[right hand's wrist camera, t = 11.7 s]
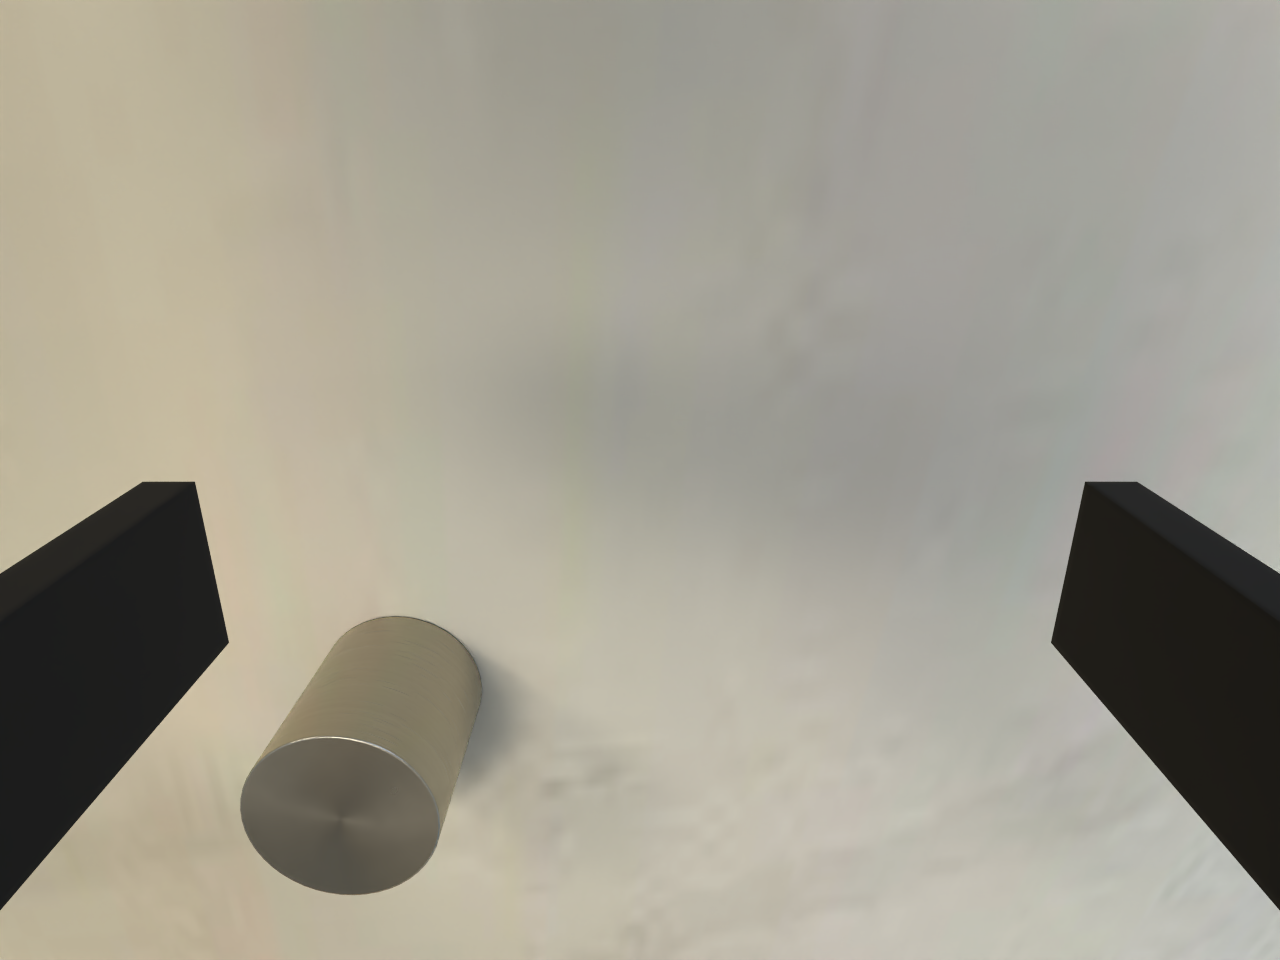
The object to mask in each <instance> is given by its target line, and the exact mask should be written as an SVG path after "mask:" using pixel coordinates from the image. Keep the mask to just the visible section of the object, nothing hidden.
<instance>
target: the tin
mask: <svg viewBox="0 0 1280 960" xmlns="http://www.w3.org/2000/svg"><path fill="white" fill-rule="evenodd" d="M481 695H482V686H481V679H480V675H479V672H478V669H477V666H476V664H475V662H474V660H473V658H472V657H471V655H470V654H469V652H468V651H467V650H466V649H465V647H464V646H463V645H462V644H461V643H460V642H459V641H458V640H457V639H455V638H454V637H453V636H452V635H450V634H449V633H447V632H446V631H445V630H443V629H441V628H439V627H437V626H435V625H433V624H430V623H428V622H425V621H421V620H418V619H413V618H407V617H384V618H378V619H373V620H370V621H367V622H364V623H362V624H360V625H358V626H356V627H354V628H352V629H351V630H349V631H348V632H347V633H345V634H344V635H343V636H342V637H341V638H340V639H339V640H338V641H337V643H336V644H335V645H334V646H333V648H332V649H331V651H330V652H329V654H328V655H327V657H326V658H325V660H324V661H323V663H322V664H321V666H320V667H319V669H318V670H317V672H316V673H315V675H314V676H313V678H312V679H311V681H310V682H309V684H308V686H307V687H306V689H305V690H304V692H303V693H302V695H301V696H300V698H299V699H298V701H297V702H296V704H295V705H294V707H293V708H292V710H291V711H290V713H289V714H288V716H287V717H286V719H285V720H284V722H283V723H282V725H281V726H280V728H279V729H278V731H277V732H276V734H275V735H274V737H273V738H272V740H271V741H270V743H269V744H268V746H267V747H266V749H265V750H264V752H263V753H262V755H261V756H260V758H259V759H258V761H257V762H256V764H255V765H254V767H253V769H252V770H251V772H250V773H249V775H248V777H247V779H246V781H245V784H244V786H243V790H242V795H241V809H240V810H241V817H242V822H243V825H244V829H245V831H246V833H247V836H248V838H249V840H250V842H251V843H252V845H253V846H254V848H255V849H256V851H257V852H258V853H259V854H260V855H261V856H262V858H263V859H264V860H265V861H266V862H268V863H269V864H270V865H271V866H272V867H273V868H274V869H276V870H277V871H278V872H280V873H281V874H283V875H284V876H286V877H288V878H289V879H291V880H293V881H295V882H297V883H299V884H302V885H304V886H306V887H309V888H312V889H315V890H319V891H323V892H327V893H334V894H341V895H362V894H370V893H376V892H380V891H384V890H387V889H390V888H393V887H395V886H397V885H400V884H402V883H403V882H405V881H407V880H408V879H410V878H411V877H413V876H414V875H415V874H416V873H418V872H419V871H420V870H421V869H422V868H423V867H424V866H425V865H426V863H427V862H428V861H429V859H430V858H431V856H432V855H433V853H434V850H435V848H436V846H437V843H438V840H439V836H440V833H441V830H442V827H443V823H444V820H445V817H446V814H447V810H448V807H449V804H450V801H451V797H452V794H453V791H454V787H455V784H456V781H457V778H458V774H459V771H460V768H461V765H462V761H463V758H464V755H465V752H466V748H467V745H468V742H469V738H470V735H471V732H472V729H473V725H474V722H475V719H476V716H477V712H478V709H479V706H480V702H481Z"/></svg>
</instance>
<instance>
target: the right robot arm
mask: <svg viewBox="0 0 1280 960" xmlns="http://www.w3.org/2000/svg"><path fill="white" fill-rule="evenodd" d="M228 643H229V641H228V636H227V631H226V627H225V622H224V617H223V612H222V608H221V603H220V598H219V594H218V589H217V584H216V579H215V575H214V570H213V565H212V560H211V556H210V551H209V546H208V542H207V537H206V532H205V527H204V523H203V518H202V513H201V508H200V504H199V499H198V494H197V490H196V485H195V482H142V483H140V484H139V485H137V486H136V487H134V488H133V489H131V490H129V491H128V492H126V493H125V494H123V495H122V496H120V497H119V498H117V499H116V500H114V501H112V502H111V503H109V504H108V505H106V506H105V507H103V508H102V509H100V510H98V511H97V512H95V513H94V514H92V515H91V516H89V517H88V518H86V519H84V520H83V521H81V522H80V523H78V524H77V525H75V526H74V527H72V528H71V529H69V530H67V531H66V532H64V533H63V534H61V535H60V536H58V537H57V538H55V539H53V540H52V541H50V542H49V543H47V544H46V545H44V546H43V547H41V548H39V549H38V550H36V551H35V552H33V553H32V554H30V555H29V556H27V557H25V558H24V559H22V560H21V561H19V562H18V563H16V564H15V565H13V566H12V567H10V568H8V569H7V570H5V571H4V572H2V573H1V574H0V910H1V909H2V908H3V906H4V905H5V904H6V903H7V902H8V901H9V899H10V898H11V897H12V896H13V895H14V894H15V892H16V891H17V890H18V889H19V888H20V887H21V885H22V884H23V883H24V882H25V881H26V880H27V878H28V877H29V876H30V875H31V874H32V873H33V871H34V870H35V869H36V868H37V867H38V866H39V864H40V863H41V862H42V861H43V860H44V858H45V857H46V856H47V855H48V854H49V853H50V851H51V850H52V849H53V848H54V847H55V846H56V844H57V843H58V842H59V841H60V840H61V839H62V837H63V836H64V835H65V834H66V833H67V832H68V830H69V829H70V828H71V827H72V826H73V825H74V823H75V822H76V821H77V820H78V819H79V818H80V816H81V815H82V814H83V813H84V812H85V810H86V809H87V808H88V807H89V806H90V805H91V803H92V802H93V801H94V800H95V799H96V798H97V796H98V795H99V794H100V793H101V792H102V791H103V789H104V788H105V787H106V786H107V785H108V784H109V782H110V781H111V780H112V779H113V778H114V777H115V775H116V774H117V773H118V772H119V771H120V770H121V768H122V767H123V766H124V765H125V764H126V763H127V761H128V760H129V759H130V758H131V757H132V755H133V754H134V753H135V752H136V751H137V750H138V748H139V747H140V746H141V745H142V744H143V743H144V741H145V740H146V739H147V738H148V737H149V736H150V734H151V733H152V732H153V731H154V730H155V729H156V727H157V726H158V725H159V724H160V723H161V722H162V720H163V719H164V718H165V717H166V716H167V715H168V713H169V712H170V711H171V710H172V709H173V708H174V706H175V705H176V704H177V703H178V702H179V700H180V699H181V698H182V697H183V696H184V695H185V693H186V692H187V691H188V690H189V689H190V688H191V686H192V685H193V684H194V683H195V682H196V681H197V679H198V678H199V677H200V676H201V675H202V674H203V672H204V671H205V670H206V669H207V668H208V667H209V665H210V664H211V663H212V662H213V661H214V660H215V658H216V657H217V656H218V655H219V654H220V652H221V651H222V650H223V649H224V648H225V647H226V645H227V644H228ZM1051 643H1052V644H1053V645H1054V647H1055V648H1056V649H1057V650H1058V651H1059V652H1060V654H1061V655H1062V656H1063V657H1064V658H1065V660H1066V661H1067V662H1068V663H1069V664H1070V665H1071V667H1072V668H1073V669H1074V670H1075V671H1076V672H1077V674H1078V675H1079V676H1080V677H1081V678H1082V679H1083V681H1084V682H1085V683H1086V684H1087V685H1088V686H1089V688H1090V689H1091V690H1092V691H1093V692H1094V693H1095V695H1096V696H1097V697H1098V698H1099V699H1100V700H1101V702H1102V703H1103V704H1104V705H1105V706H1106V708H1107V709H1108V710H1109V711H1110V712H1111V713H1112V715H1113V716H1114V717H1115V718H1116V719H1117V720H1118V722H1119V723H1120V724H1121V725H1122V726H1123V727H1124V729H1125V730H1126V731H1127V732H1128V733H1129V734H1130V736H1131V737H1132V738H1133V739H1134V740H1135V741H1136V743H1137V744H1138V745H1139V746H1140V747H1141V748H1142V750H1143V751H1144V752H1145V753H1146V754H1147V755H1148V757H1149V758H1150V759H1151V760H1152V761H1153V763H1154V764H1155V765H1156V766H1157V767H1158V768H1159V770H1160V771H1161V772H1162V773H1163V774H1164V775H1165V777H1166V778H1167V779H1168V780H1169V781H1170V782H1171V784H1172V785H1173V786H1174V787H1175V788H1176V789H1177V791H1178V792H1179V793H1180V794H1181V795H1182V796H1183V798H1184V799H1185V800H1186V801H1187V802H1188V803H1189V805H1190V806H1191V807H1192V808H1193V809H1194V810H1195V812H1196V813H1197V814H1198V815H1199V816H1200V818H1201V819H1202V820H1203V821H1204V822H1205V823H1206V825H1207V826H1208V827H1209V828H1210V829H1211V830H1212V832H1213V833H1214V834H1215V835H1216V836H1217V837H1218V839H1219V840H1220V841H1221V842H1222V843H1223V844H1224V846H1225V847H1226V848H1227V849H1228V850H1229V851H1230V853H1231V854H1232V855H1233V856H1234V857H1235V858H1236V860H1237V861H1238V862H1239V863H1240V864H1241V866H1242V867H1243V868H1244V869H1245V870H1246V871H1247V873H1248V874H1249V875H1250V876H1251V877H1252V878H1253V880H1254V881H1255V882H1256V883H1257V884H1258V885H1259V887H1260V888H1261V889H1262V890H1263V891H1264V892H1265V894H1266V895H1267V896H1268V897H1269V898H1270V899H1271V901H1272V902H1273V903H1274V904H1275V905H1276V906H1277V908H1278V909H1279V910H1280V574H1279V573H1278V572H1276V571H1275V570H1273V569H1272V568H1270V567H1268V566H1267V565H1265V564H1264V563H1262V562H1261V561H1259V560H1258V559H1256V558H1255V557H1253V556H1251V555H1250V554H1248V553H1247V552H1245V551H1244V550H1242V549H1241V548H1239V547H1237V546H1236V545H1234V544H1233V543H1231V542H1230V541H1228V540H1227V539H1225V538H1223V537H1222V536H1220V535H1219V534H1217V533H1216V532H1214V531H1213V530H1211V529H1209V528H1208V527H1206V526H1205V525H1203V524H1202V523H1200V522H1199V521H1197V520H1196V519H1194V518H1192V517H1191V516H1189V515H1188V514H1186V513H1185V512H1183V511H1182V510H1180V509H1178V508H1177V507H1175V506H1174V505H1172V504H1171V503H1169V502H1168V501H1166V500H1164V499H1163V498H1161V497H1160V496H1158V495H1157V494H1155V493H1154V492H1152V491H1151V490H1149V489H1147V488H1146V487H1144V486H1143V485H1141V484H1140V483H1138V482H1085V485H1084V490H1083V494H1082V499H1081V504H1080V508H1079V513H1078V518H1077V523H1076V527H1075V532H1074V537H1073V542H1072V546H1071V551H1070V556H1069V560H1068V565H1067V570H1066V575H1065V579H1064V584H1063V589H1062V594H1061V598H1060V603H1059V608H1058V612H1057V617H1056V622H1055V627H1054V631H1053V636H1052V641H1051Z"/></svg>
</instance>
